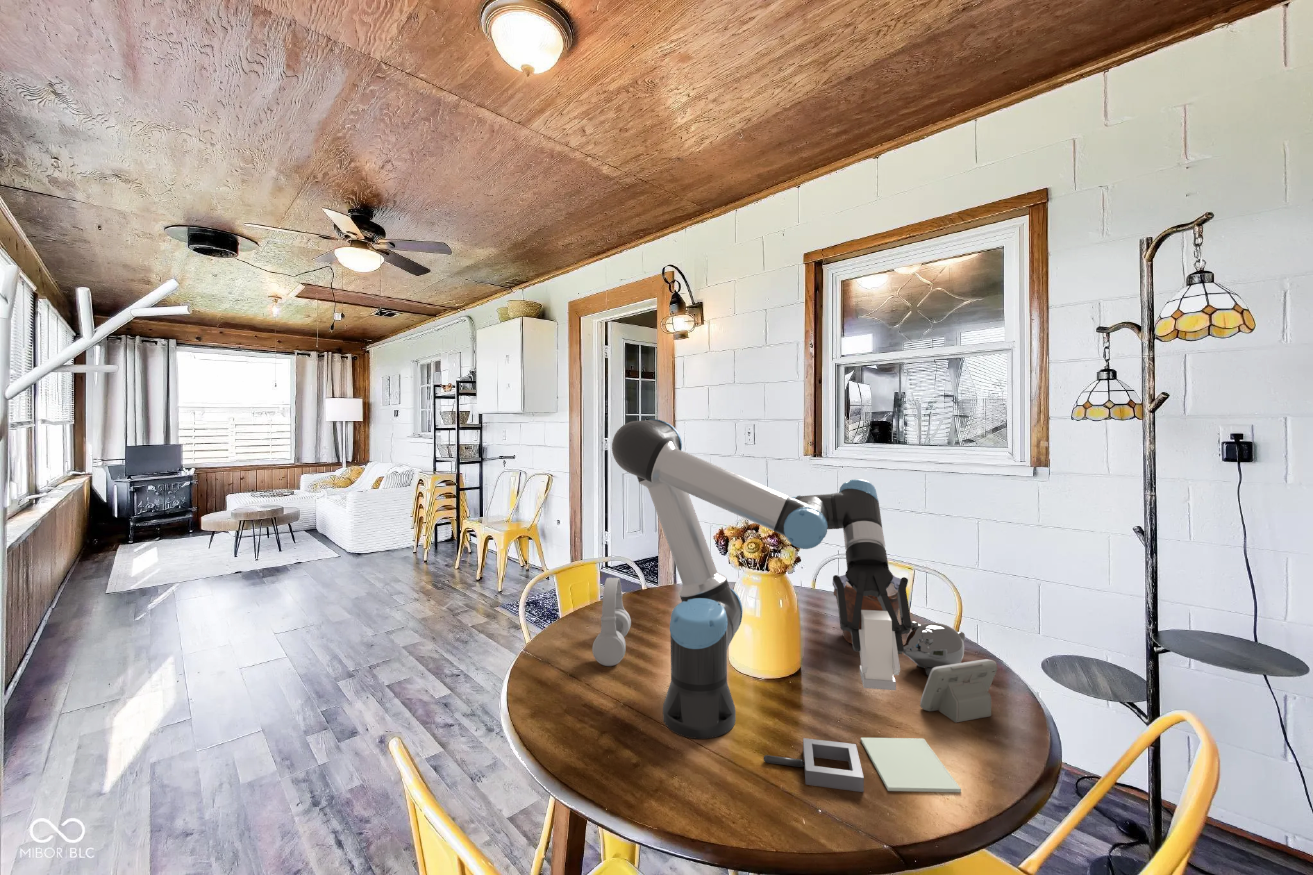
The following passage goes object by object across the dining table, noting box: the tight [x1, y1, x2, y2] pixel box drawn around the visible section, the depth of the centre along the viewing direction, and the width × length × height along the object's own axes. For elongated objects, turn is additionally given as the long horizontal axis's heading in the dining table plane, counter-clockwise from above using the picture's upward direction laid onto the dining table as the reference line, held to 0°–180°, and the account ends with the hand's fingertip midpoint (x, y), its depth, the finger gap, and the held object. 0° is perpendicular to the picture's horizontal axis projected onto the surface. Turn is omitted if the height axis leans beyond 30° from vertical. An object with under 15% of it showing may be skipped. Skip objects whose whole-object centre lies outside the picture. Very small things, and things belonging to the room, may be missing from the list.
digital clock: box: [919, 658, 998, 723], centre depth 116 cm, size 16×9×11 cm, turn 93°
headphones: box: [592, 577, 632, 667], centre depth 147 cm, size 20×8×19 cm, turn 178°
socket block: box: [763, 737, 865, 793], centre depth 98 cm, size 17×9×2 cm, turn 78°
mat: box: [860, 737, 962, 793], centre depth 99 cm, size 12×14×1 cm
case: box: [833, 574, 900, 645], centre depth 152 cm, size 18×20×18 cm
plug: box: [859, 610, 897, 691], centre depth 96 cm, size 5×5×12 cm
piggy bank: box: [902, 620, 966, 677], centre depth 133 cm, size 11×15×12 cm
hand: (880, 670), depth 93 cm, fingers closed on plug, 4 cm apart
